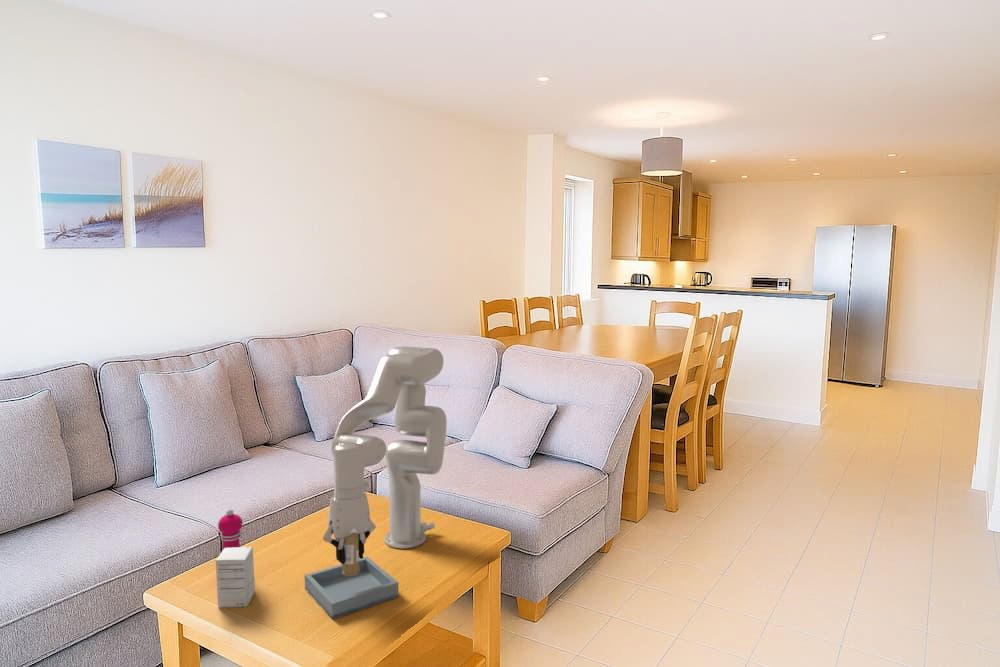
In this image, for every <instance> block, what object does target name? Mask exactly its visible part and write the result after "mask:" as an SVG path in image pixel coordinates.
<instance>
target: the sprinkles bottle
mask: <svg viewBox="0 0 1000 667" xmlns="http://www.w3.org/2000/svg"><path fill="white" fill-rule="evenodd" d="M355 532H357V531H356V529H355V528H353V529H352V530H351V532H350V533H352V534H350V536H348V537H345V538H344V543H343V548H344V549H345V563H344V564H342V574H343V575H345V576H354V575H356V574H358V573H359V571H360V570H359V559H360V558H359V543H358V534H356V533H355Z"/></svg>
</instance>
